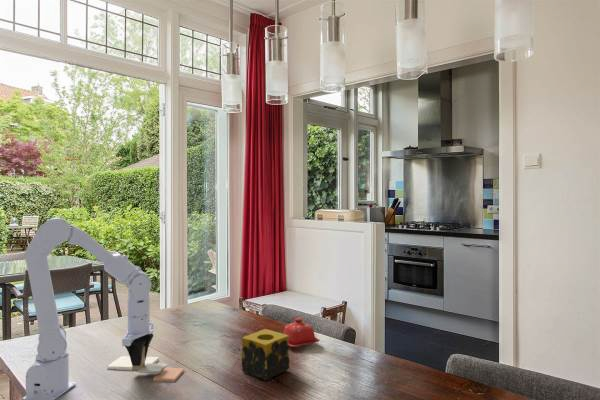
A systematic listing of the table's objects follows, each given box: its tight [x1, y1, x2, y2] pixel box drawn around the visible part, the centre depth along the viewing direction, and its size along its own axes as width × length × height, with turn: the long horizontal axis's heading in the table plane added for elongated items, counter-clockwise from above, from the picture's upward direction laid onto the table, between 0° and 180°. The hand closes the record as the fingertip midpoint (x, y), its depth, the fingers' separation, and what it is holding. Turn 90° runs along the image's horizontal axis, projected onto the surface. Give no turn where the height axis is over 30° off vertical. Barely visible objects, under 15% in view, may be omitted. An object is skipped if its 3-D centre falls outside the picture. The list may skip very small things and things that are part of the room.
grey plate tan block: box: [131, 346, 168, 374], centre depth 116 cm, size 5×8×6 cm, turn 85°
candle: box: [241, 328, 290, 381], centre depth 119 cm, size 10×10×10 cm
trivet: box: [106, 355, 160, 371], centre depth 123 cm, size 8×12×1 cm, turn 85°
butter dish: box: [283, 317, 320, 348], centre depth 143 cm, size 12×12×8 cm
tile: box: [152, 367, 185, 383], centre depth 115 cm, size 7×1×6 cm
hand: (138, 363), depth 116 cm, fingers closed on grey plate tan block, 2 cm apart
